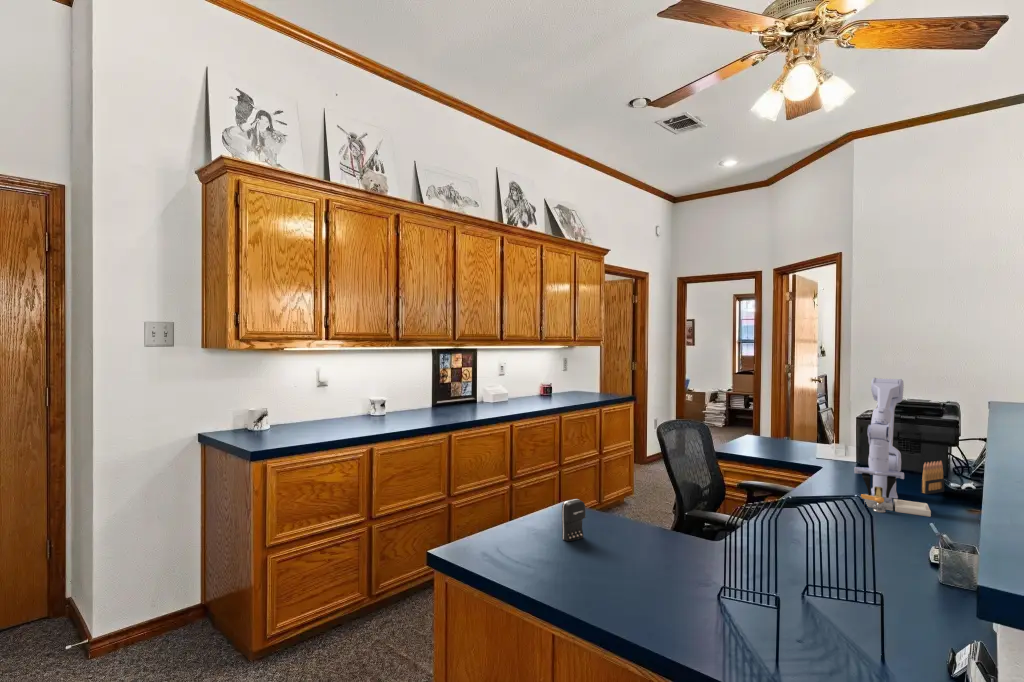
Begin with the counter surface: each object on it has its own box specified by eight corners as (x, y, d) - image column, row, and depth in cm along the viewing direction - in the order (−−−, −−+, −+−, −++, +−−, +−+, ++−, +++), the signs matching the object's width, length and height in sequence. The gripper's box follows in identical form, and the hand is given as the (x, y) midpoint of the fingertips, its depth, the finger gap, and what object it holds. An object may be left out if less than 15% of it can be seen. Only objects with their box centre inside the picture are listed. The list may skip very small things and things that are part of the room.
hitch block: (864, 500, 198) (864, 491, 197) (891, 504, 193) (891, 495, 193) (865, 510, 187) (865, 501, 187) (893, 514, 182) (893, 505, 182)
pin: (874, 504, 194) (874, 486, 194) (882, 505, 192) (882, 487, 192) (874, 505, 192) (874, 487, 191) (882, 507, 190) (882, 488, 190)
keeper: (884, 501, 186) (884, 497, 186) (882, 502, 184) (882, 499, 184) (862, 496, 191) (862, 493, 191) (860, 498, 189) (860, 495, 189)
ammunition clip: (925, 494, 205) (926, 463, 205) (920, 493, 207) (921, 461, 206) (944, 491, 209) (945, 460, 208) (939, 490, 210) (939, 459, 210)
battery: (569, 543, 158) (569, 504, 158) (561, 539, 161) (561, 501, 161) (587, 538, 162) (587, 500, 161) (579, 534, 165) (579, 497, 165)
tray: (893, 504, 194) (893, 499, 194) (927, 508, 189) (927, 503, 188) (895, 511, 185) (895, 506, 185) (930, 516, 180) (930, 511, 180)
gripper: (854, 457, 192) (854, 495, 192) (905, 462, 184) (904, 502, 185) (854, 453, 198) (854, 490, 198) (903, 458, 190) (902, 496, 191)
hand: (878, 495), depth 192 cm, fingers open, 5 cm apart
